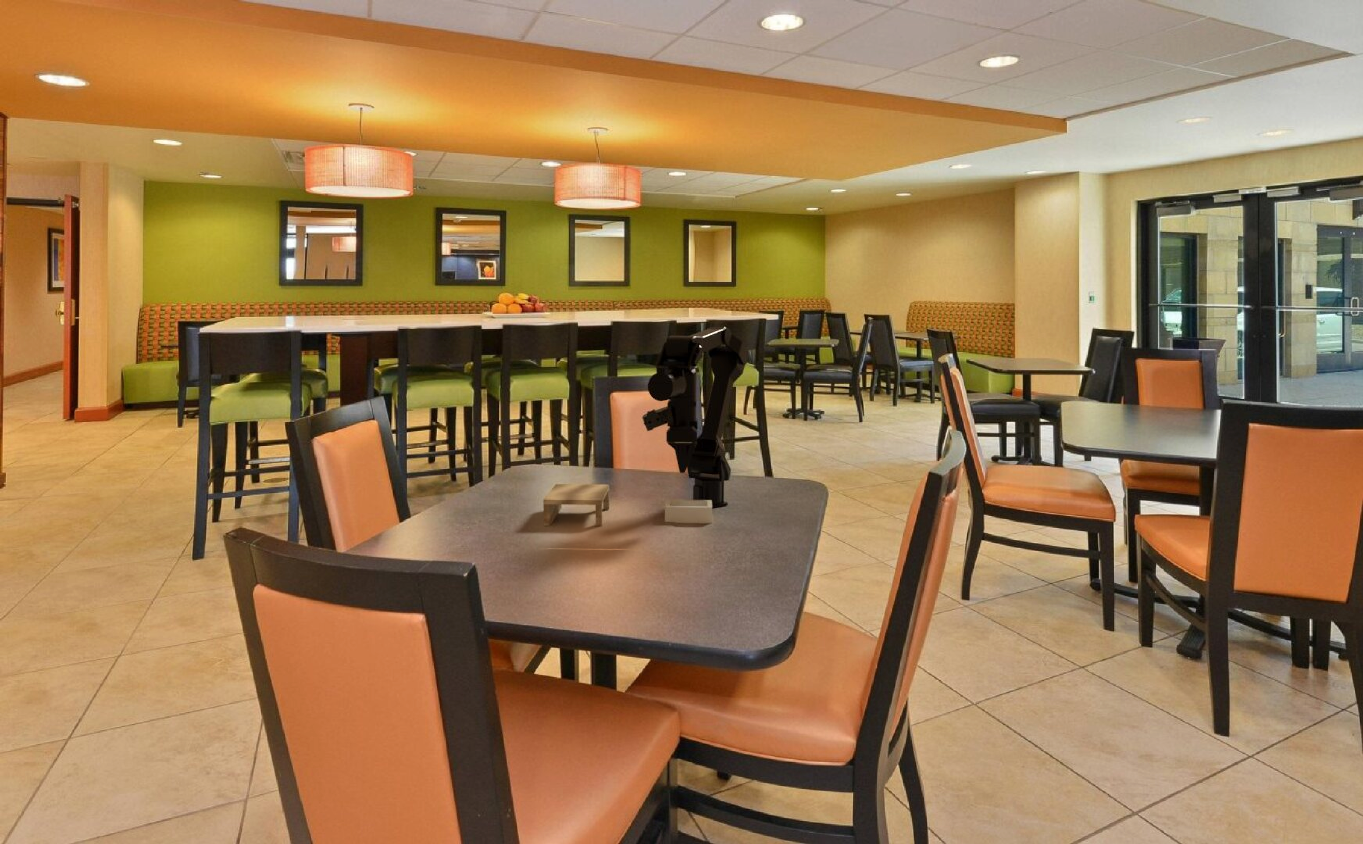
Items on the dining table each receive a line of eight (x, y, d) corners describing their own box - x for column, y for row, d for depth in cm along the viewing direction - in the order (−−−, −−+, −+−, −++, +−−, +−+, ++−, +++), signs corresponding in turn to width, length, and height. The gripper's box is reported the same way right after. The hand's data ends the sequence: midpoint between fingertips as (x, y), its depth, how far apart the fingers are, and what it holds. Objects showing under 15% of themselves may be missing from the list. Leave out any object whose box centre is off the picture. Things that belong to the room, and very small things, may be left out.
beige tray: (711, 515, 170) (711, 500, 170) (712, 523, 164) (712, 507, 163) (666, 515, 170) (666, 499, 170) (664, 523, 164) (665, 507, 163)
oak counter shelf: (609, 508, 175) (609, 484, 174) (601, 526, 160) (601, 500, 159) (556, 507, 175) (555, 484, 174) (543, 525, 160) (543, 499, 160)
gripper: (647, 390, 172) (648, 458, 175) (641, 401, 154) (641, 477, 156) (697, 390, 172) (697, 459, 175) (697, 401, 154) (696, 478, 156)
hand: (682, 468), depth 165 cm, fingers open, 9 cm apart
